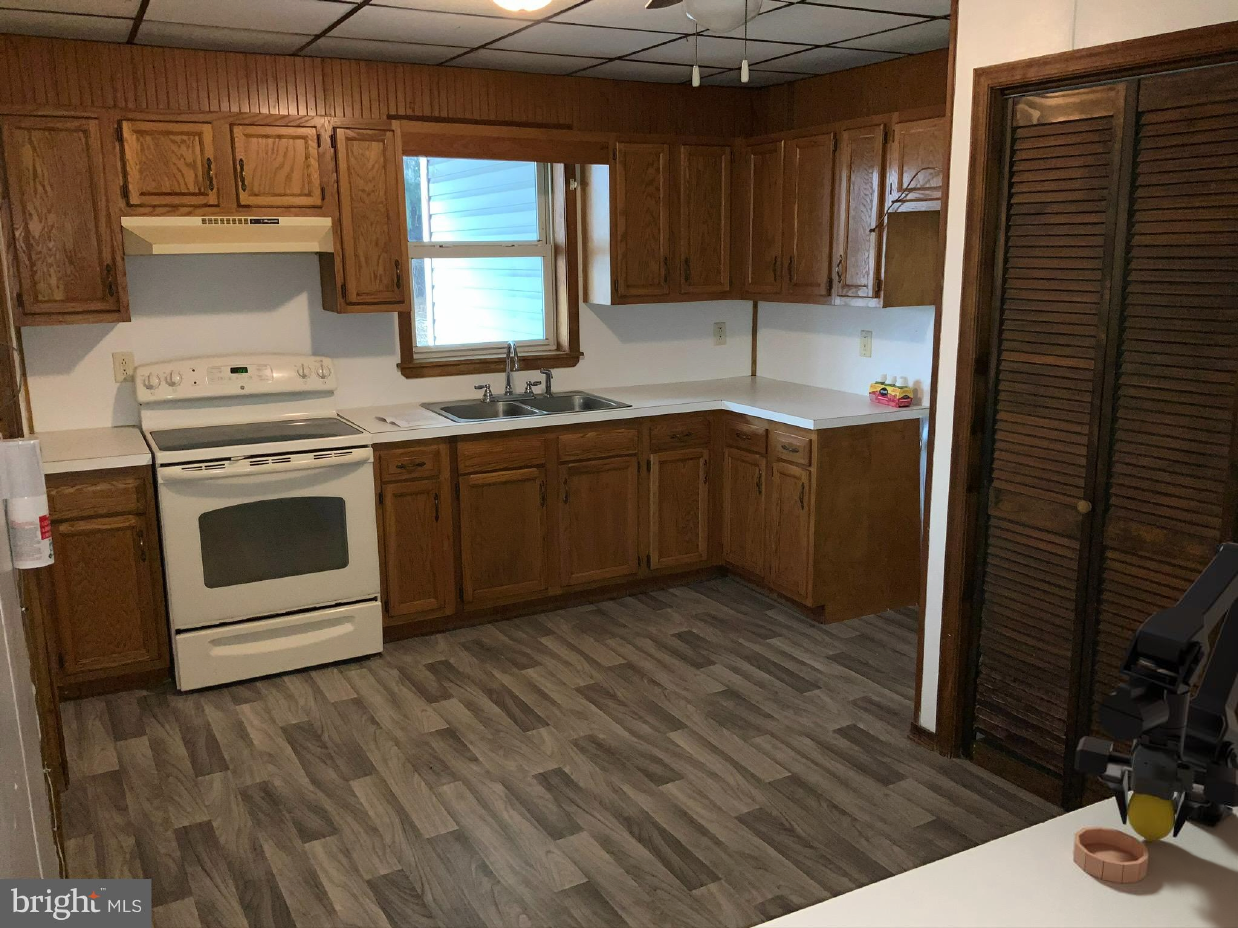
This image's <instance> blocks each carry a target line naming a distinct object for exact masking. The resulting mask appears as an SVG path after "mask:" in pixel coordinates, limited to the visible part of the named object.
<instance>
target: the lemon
mask: <svg viewBox="0 0 1238 928" xmlns="http://www.w3.org/2000/svg"><path fill="white" fill-rule="evenodd" d="M1127 813H1128V816H1127V821H1128V822H1129V825H1130V826H1131V829H1133V831H1134V832H1135V833H1136V834H1137V835H1139V837H1142V838H1143V839H1144V840H1145V841H1146V842H1152V841H1158V840H1162V839H1165V837H1168V835H1169V834H1171V833H1172V830H1174V823H1175V818H1176V812H1175V807H1174V803H1173V801H1172V799H1171V800H1162V799H1160V798H1158V797H1154V796H1150V795H1146V794H1143V795H1141V794H1137V793H1135V792H1133V791H1132V794H1131V796H1130V798H1129V799H1128V809H1127Z"/></svg>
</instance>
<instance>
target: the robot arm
mask: <svg viewBox="0 0 1238 928" xmlns="http://www.w3.org/2000/svg"><path fill="white" fill-rule="evenodd" d="M1215 550H1216V551H1215V553H1214V556H1213V559H1212V560H1211V561H1210V563H1209V564H1207V566H1206V568H1205V569H1204V570H1203V571H1202V573H1200V575H1199V576H1198V577H1197V578H1196V579H1195V581H1194V582H1193V584H1192V585H1190V587H1189V588H1188V589H1187V591H1186V592H1185V593H1184V594H1183V596H1181V598H1180V599H1179V601H1178V602H1176V604H1175V605H1173V606H1172V607H1168V608H1165V609H1161V610H1158V611H1156V612H1154V613H1153V614H1152V615H1150V617H1148V619H1147V620H1145V622H1143V623H1141V625H1140V626H1139V627H1138V628H1137V629H1136V630H1135V632H1134V634H1133V636H1132V639H1131V641H1130V643H1129V645H1128V648H1127V649H1126V652H1125V654H1124V655H1123V658H1122V661H1121V663H1120V664H1119V667H1118V669H1117V675H1121V676H1124V677H1127V678H1128V681H1126V682H1121V683H1118V684H1117V685H1116V687H1115V692H1112V693H1110V694H1108V695H1107V696H1104V698H1102V700H1101V701H1100V703H1099V705H1098V707H1097V719H1098V720H1099V723H1100V724H1101V727H1102V728H1103V730H1104V731H1105V732H1106V733H1107V734H1108V735H1110V736H1111V737H1113V738H1114V739H1115V740H1118V741H1123V742H1131V741H1133V745H1132V747H1131V750H1130V754H1127V753H1123V752H1122V753H1121V752H1117V751H1113V743H1114V742H1113V741H1110V740H1107V739H1101V738H1096V737H1091V736H1087V735H1085V736H1083V737H1082V738H1080V739H1079V742H1078V745H1077V747H1076V751H1075V756H1074V769H1075V770H1076V771H1077V772H1082V773H1085V774H1090V775H1094V776H1097V777H1098V779H1099V781H1101V782H1103V783H1106V784H1107V785H1108V786H1109V787H1110V789H1111V791H1112V793H1113V795H1114V798H1115V801H1116V804H1117V809H1118V812H1119V816H1120V819H1121V822H1122V824H1123V825H1125V826H1126V825H1127V823H1128V813H1127V809H1128V803H1129V784H1128V781H1129V780H1128V778H1129V777H1128V774H1129V773H1128V772H1129V771H1130V772H1131V773H1130V774H1131V777H1130V789H1131V792H1132V793H1133V792H1135V793H1137V794H1141V795H1143V794H1146V795H1150V796H1154V797H1158V798H1160V799H1162V800H1171V799H1172V801H1173V803H1174V807H1175V823H1174V827H1173V829H1172V830H1173V832H1172V837H1173V838H1175V839H1176V838H1177V837H1178V835H1179V833H1180V832H1181V830H1182V829H1183V827H1184V825H1185V823H1186V822H1187V820H1188V819H1192V820H1194V821H1197V822H1199V823H1202V824H1205V825H1206V826H1210V827H1213V828H1214V827H1217V826H1218V825H1219V824H1220V823H1222V822H1223V821H1224V820H1225V819H1226V818H1228V817H1229V816H1231V814H1233V812H1234V809H1233V808H1238V720H1237V717H1236V714H1235V710H1236V708H1237V704H1238V543H1235V542H1231V541H1228V542H1221V543H1220V544H1219V545H1218V546H1217V548H1216V549H1215ZM1225 613H1226V614H1225ZM1223 615H1225V618H1224V621H1223V623H1222V625H1221V628H1220V630H1219V633H1218V636H1217V639H1216V642H1215V645H1214V646H1213V650H1212V651H1211V655H1210V657H1209V660H1208V654H1209V652H1210V644H1209V637H1208V636H1209V635H1210V633H1211V632H1212V630H1213V629H1214V627H1215V626H1216V625H1217V624H1218V623H1219V621H1220V620H1221V618H1222V617H1223ZM1139 661H1140V662H1141V663H1142V664H1145V665H1148V666H1151V667H1154V668H1157V669H1158V670H1155V669H1152V668H1148V667H1146V666H1144V665H1141V664H1137V663H1138V662H1139ZM1207 661H1208V663H1207ZM1206 663H1207V665H1206ZM1205 665H1206V668H1205V671H1204V674H1203V676H1202V678H1201V681H1200V683H1199V687H1198V689H1197V692H1196V694H1195V696H1193V697H1191V689H1192V687H1193V686H1194V683H1196V682H1197V681H1198V677H1199V675H1200V673H1201V671H1202V669H1203V668H1204V666H1205ZM1175 793H1176V796H1175Z"/></svg>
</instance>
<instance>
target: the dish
mask: <svg viewBox="0 0 1238 928" xmlns="http://www.w3.org/2000/svg"><path fill="white" fill-rule="evenodd" d="M1073 836H1074V837H1073V845H1072V846H1073V848H1072V856H1073V862H1074V863H1075V864H1076V865H1077V866H1078V867H1080V869H1081V870H1082V871H1083V872H1085V873H1087V874H1090V875H1092V876H1093V877H1096V878H1098V879H1100V880H1103V881H1107V882H1113V883H1118V884H1129V883H1137V882H1140V881H1141V880H1142V879H1143V878H1145V877H1146V876H1147V874H1148V865H1149V852H1148V848H1147V846H1146V845H1145V844H1143V843H1142V842H1141V841H1140V840H1139V839H1137V838H1136V837H1135V836H1133V835H1130V834H1129V833H1126V832H1124V831H1121V830H1119V829H1114V828H1109V827H1103V826H1091V827H1083V828H1081V829H1080V830H1078V831H1077V832H1076V833H1074V835H1073Z"/></svg>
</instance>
